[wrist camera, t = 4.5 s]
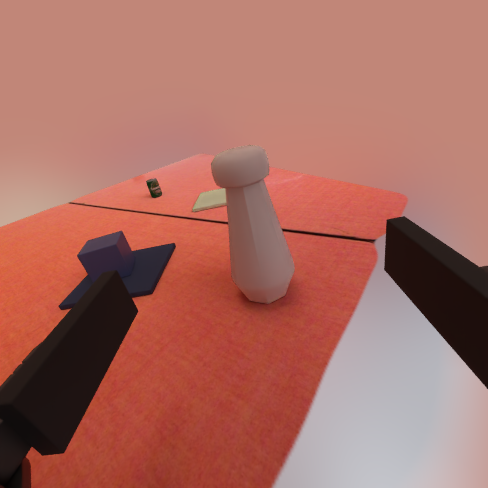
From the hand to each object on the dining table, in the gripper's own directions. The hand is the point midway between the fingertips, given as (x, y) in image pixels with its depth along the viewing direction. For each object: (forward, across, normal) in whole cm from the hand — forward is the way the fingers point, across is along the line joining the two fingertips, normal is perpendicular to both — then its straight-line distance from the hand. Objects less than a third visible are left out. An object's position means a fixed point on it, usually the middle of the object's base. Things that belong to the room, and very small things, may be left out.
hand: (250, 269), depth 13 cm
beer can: (+56, -26, -9) cm, 63 cm away
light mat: (+42, -7, -8) cm, 44 cm away
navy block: (+17, -19, -8) cm, 27 cm away
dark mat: (+17, -18, -9) cm, 26 cm away
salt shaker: (+9, 0, -9) cm, 13 cm away
